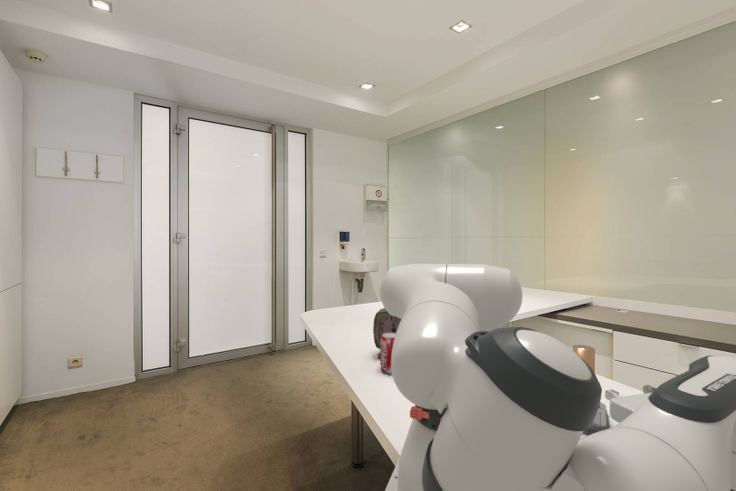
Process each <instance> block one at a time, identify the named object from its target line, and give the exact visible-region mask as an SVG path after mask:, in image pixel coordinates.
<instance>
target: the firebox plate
mask: <svg viewBox="0 0 736 491" xmlns="http://www.w3.org/2000/svg"><path fill="white" fill-rule="evenodd" d="M610 428H611V427H610V423H609V416H608V409H607V405H606V404H605V403H603V402H602V401H600V404H599V408H598V411H597V413H596V416H595V419H594V421H593V424H592V426H591V427H590V428H589V429H588V430H586V431H583V433H582V435H586V436H588V435H591V434H593V433H596V432H599V431H602V430H606V429H610Z"/></svg>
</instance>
